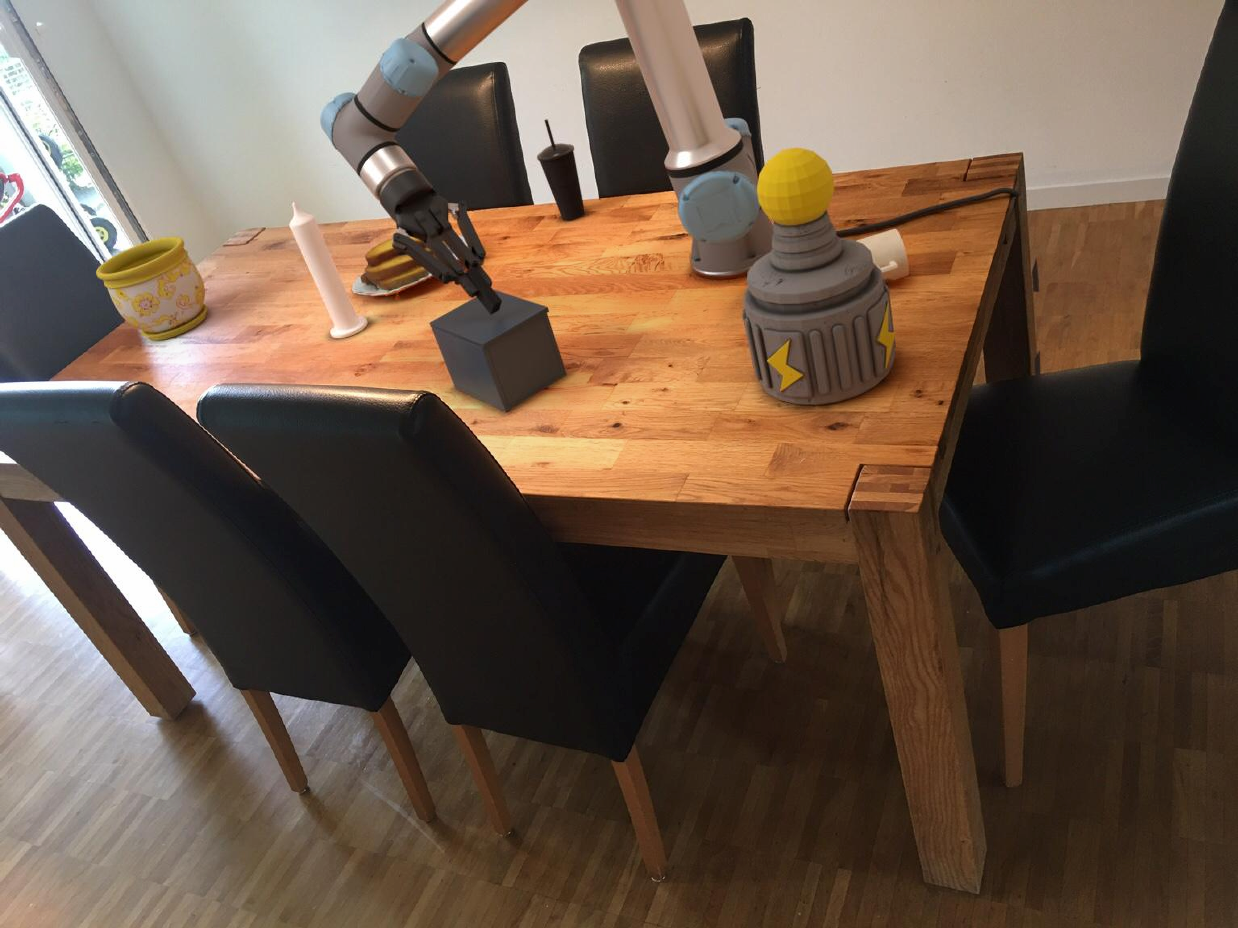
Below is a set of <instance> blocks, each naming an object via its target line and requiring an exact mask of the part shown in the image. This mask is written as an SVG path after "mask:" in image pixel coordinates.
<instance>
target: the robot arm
mask: <svg viewBox="0 0 1238 928" xmlns="http://www.w3.org/2000/svg"><path fill="white" fill-rule="evenodd" d="M528 1H529V0H445V1H444V2H443V3H442V4H441V5H440V6H438V7H437V8H436V9H435V10H434V11H433V12H432V13H431V14H429V16H427V17H426V19H425V20H424V21H423V22H421V23H420V24H419V25H418V26H417V27H415V29H414V30H413V31H411V32H410V33H408V34H407V35H406V36H405V37H399V38H396V39H394V40H393V41H392V43H391V44H390V45H389V47H388V48H386V50H385V51H384V52H383V53H382V54H381V56H380V58H379V60H378V62H377V64H376V65H375V67H374V68H373V70H372V71H371V72H370V74H369V76H368V77H367V79H366V80H365V82H364V83H363V85H362V87H361V88H360V90H359V91H358V92H357V93H355V92H350V91H349V92H348V91H347V92H343V93H342V92H341V93H340V94H338V95H336V96H334V98H333V100H331V101H329V102H327V103H326V104H325V106H324V107H323V109H322V111H321V114H320V117H319V121H320V127H321V129H322V131H323V132H324V133H325V135H326V136H327V138H328V139H329V140H330V143H331V145H332V147H333V148H334V149H335V150H337V152H339V153H340V155H341V156H342V157H343V159H345V161H346V162H347V164H349V166H350V167H351V168H352V169H353V171H354V172H355V173H356V174H357V176H358V178H359V179H360V180H361V181H362V183H363V184H364V185H365V186H366V188H367V189H368V190H369V191H370V193H371V194H372V195H373V196H374V198H375V199H376V200H377V201H379V204H380V205H381V206H382V208H383V209H384V211H385V212H386V213H387V214H388V215H389V217H390V218H391V220H392V221H394V222H395V225H396V230H397V231H396V232H394V233H393V234H392V238H393V241H392V247H393V248H394V249H396V250H399V251H401V252H404V253H406V254H407V255H408V256H410V257H411V258H412V259H413V260H415V261H416V262H417V263H418V264H420V265H421V266H422V267H423V268H424V269H426V270H427V271H428V272H429V273H431V274H432V275H433V276H432V277H433V278H435V279H436V280H438V281H439V282H441V283H442V284H443V285H449V283H452V282H453V284H454V285H456V286H460V287H461V288H462V289H463V291H464V292H465V293H466V294H467V296H469V298H472V299H473V298H475V297H477V298H478V299H479V301H480V302H481V303H482V304H483V306H484V307H485V308H486V309H487V311H488V312H489V313H490V314H491V315H492V314H493V313H495V312H497V311H499V309H500V306H501V303H502V300H501V299H500V298H499V296H498V295H497V294H496V293H495V291H494V290H495V289H494V288H492V285H493V280H492V278H491V277H490V276H489V274H488V273H487V272H486V271H485V269H484V268H483V267H482V266H484V263H485V260H486V256H487V252H486V249H485V247H484V245H483V244H482V241H481V239H480V237H479V235H478V233H477V230H476V229H475V226H474V225H473V223H472V221H471V218H470V216H469V214H468V205H467V204H468V203H467V201H465V200H463V199H460V200H459V201H458V203H453V202H448V201H447V200H446V199H445V198H444V197H441V196H440V195H439V194H438V193H437V191H436V190H435V188H434V187H433V185H432V184H431V183H430V182H429V180H428V179H427V178H426V177H425V176H424V174H423V173H422V172H421V171H420V170H418V169H419V168H418V166H417V165H416V164H415V163H414V162H413V160H412V159H411V158H410V157H409V155H408V154H407V153H406V151H404V149H403V148H402V147H401V146H400V145H399V142H397V140H396V138H395V136H396V134H397V133H398V132H399V131H400V129H401V128H402V127H403V125H404V123H406V121H407V120H408V118H410V116H411V115H412V113H413V112H414V111H415V109H416V108H417V106H418V105H419V104H420V103H421V101H422V100H423V99H424V98H425V97H426V95H427V94H428V93H429V91H430V90H431V89H432V88H433V87H434V86H435V85H436V83H438V82H439V80H441V79H442V78H443V77H444V76H445V75H446V74H448V73H449V72H450V71H451V70H452V69H453V68H454V67H455V66H456V65H457V64H458V63H459V62H461V60H463V59H464V58H465V57H467V55H468V54H470V53H471V52H472V51H473V50H474V49H476V47H477V46H478V45H480V44H481V43H482V42H483V41H485V39H487V38H488V37H489V36H490V35H491V34H492V33H493V32H495V30H497V29H498V28H499V27H500V26H501V25H503V23H505V22H506V21H507V20H508V19H509V18H510V17H512V15H514V14H515V13H516V12H517V11H519V9H521V8H522V7H523V6H524V5H525V4H526V3H527V2H528ZM614 3H615V5H616V7H617V10H618V14H619V16H620V18H621V22H622V24H623V26H624V29H625V32H626V35H627V38H628V40H629V43H630V45H631V48H632V51H633V53H634V56H635V59H636V62H637V64H638V67H639V70H640V72H641V75H642V78H643V81H644V84H645V86H646V88H647V91H648V94H649V96H650V99H651V102H652V105H653V107H654V110H655V113H656V115H657V118H658V121H659V124H660V126H661V129H662V132H663V134H664V137H665V140H666V142H667V145H668V147H669V150H668V153H667V154H666V157H665V159H664V162H663V163H664V167H665V170H666V172H667V176H668V178H669V180H670V183H671V186H672V188H673V191H674V194H675V197H676V199H677V215H678V218H679V221H680V223H681V225H682V227H683V229H684V230H685V231H686V233H687V234H688V235H689V236H691V237H692V238H691V239H692V240H691V250H690V265H691V269H692V273H694V275H695V276H697V277H698V278H701V279H704V280H709V281H730V280H736V279H741V278H745V277H747V274H748V271H749V270H750V268H751V267H752V266H753V264H754V263H755V262H756V261H758V260H759V259H761V258H762V257H763V256H765V255H766V254H768V253H770V252H771V250H772V249H773V247H772V237H773V234H774V233H775V232H774V231H773V225H774V223H773V222H772V221H771V219H770V218H769V217H768V216H767V215H766V214H765V212H764V210H763V209H762V207H761V206H760V204H759V200H758V195H757V185H758V180H759V176H758V171H757V165H756V160H755V154H754V149H753V144H752V132H750V129H749V125H748V123H747V121H746V120H745V119H743V118H739V117H730V118H724V116H723V113H722V110H721V107H720V103H719V101H718V98H717V94H716V92H715V89H714V87H713V83H712V79H711V78H710V74H709V72H708V68H707V65H706V63H705V60H704V57H703V54H702V51H701V48H700V45H699V42H698V39H697V36H696V33H695V30H694V26H693V24H692V21H691V18H690V15H689V12H688V9H687V7H686V3H685V1H684V0H614ZM1003 194H1004V195H1005V194H1007V195H1011V196H1012V197H1021V196H1022V193H1021V192H1020V191H1018V190H1017V189H1014V188H1012V187H999V188H995V189H993V190H990V191H987V192H984V193H981V194H977V195H972V196H967V197H963V198H959V199H954V200H950V201H947V202H943V203H938V204H936V205H932V206H928V207H925V208H921V209H918V210H915V211H911V212H908V213H905V214H903V215H900V216H897V217H894V218H891V219H886V220H884V221H879V222H875V223H871V224H867V225H862V226H857V227H852V228H847V229H846V228H845V229H840V230H836V235H837V236H838V237H844V236H850V235H855V234H861V233H866V232H871V231H874V230H879V229H883V228H886V227H890V226H892V225H893V226H894V225H896V224H899V223H902V222H903V223H904V222H905V221H908V220H912V219H914V218H918V217H921V216H924V215H927V214H930V213H934V212H938V211H943V210H947V209H949V208H953V207H959V206H962V205H966V204H970V203H975V202H980V201H983V200H987V199H989V198H993V197H996V196H998V195H1003ZM449 215H451V217H452V218H453V220H454V221H456V224H457V227H458V230H459V232H460V233H461V236H463V237H464V239H465V241H466V244H467V246H468V247H467V246H466V245H465V243H464V242H463V241H462V240H461V238H460V237H459V234H458V233H457V232H456V231H455V230H454V229H453V226H452V224H451V222H450V220H449ZM410 236H411V237H413V238H416V239H419V240H421V241H422V242H423V243H424V245H425V246H426V247H427V248H428V249H430V250H431V251H432V252H433V254H434V255H435V256H436V258H435V257H434V256H433V255H432V254H430V253H429V252H428V251H427V250H426V249H424V248H423V247H422V246H421V245H419V244H418V243H417V242H416V241H414V240H413V239H411V238H410ZM442 241H444V242H445V243H446V244H447V246H448V247H449V248H450V249H451V251H452V252H453V253H454V254H455V256H456V257H457V258H458V260H457V259H456V258H455V257H454V255H453V254H452V253H451V252H450V250H449V249H448V248H447V247H446V245H445V244H444V243H443V242H442ZM465 269H466V271H465ZM1031 278H1032V290H1033V291H1032V292H1033V293H1039V292H1040V283H1039V282H1040V281H1039V280H1040V279H1039V269H1038V258H1037V257H1036V258H1035V260H1034V264H1033V267H1032V270H1031ZM1037 374H1038V375H1040V374H1041V350H1039V351H1038V352H1037V355H1036V356H1035V357H1034V376H1035V375H1037Z"/></svg>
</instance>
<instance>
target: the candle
mask: <svg viewBox="0 0 1238 928" xmlns="http://www.w3.org/2000/svg"><path fill="white" fill-rule="evenodd" d="M291 205H292V209H293V210H292V211H293V217H292V218H291V220H290V222H289V224H288V226H289V228H290V231H291V233H292V235H293V237H294V239H295V242H296V244H297V246H298V248H299V251H300V252H301V255H302V258H303V260H304V261H305V263H306V266H307V269H308V270H309V272H310V275H311V277H312V279H313V281H314V284H315V286H316V288H317V290H318V292H319V295H320V297H321V299H322V301H323V303H324V305H325V308H326V310H327V312H328V314H329V317H330V319H331V321H332V323H333V327H331V329H330V331H329V333H330V336H331V337H332V338H333V339H346V338H349V337H352V336H354V335H356V334H358V333H360V332H361V331H363V330H365V328H366V327H367V325H368V319H367V318H366V317H365V316H358V314H357V312H356V310H355V308H354V305H353V303H352V301H351V299H350V296H349V293H348V292H347V289H346V287H345V284H344V282H343V280H342V278H341V277H342V276H341V275H340V273H339V270H338V268H337V266H336V264H335V261H334V260H333V257H332V255H331V253H330V250H329V248H328V245H327V243H326V241H325V239H324V237H323V234H322V232H321V230H320V227H319V225H318V223H317V221H316V218H315V216H314V215H312V214H309V213H306V212H304V211H302V210H301V209H300V207H299V206H298V204H297V203H296V202H292V204H291Z"/></svg>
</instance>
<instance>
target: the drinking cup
mask: <svg viewBox="0 0 1238 928" xmlns="http://www.w3.org/2000/svg"><path fill="white" fill-rule="evenodd" d="M544 124H545V127H546V131H547V134H548V138H549V141H550V145H549V146H546V147H545V148H544V149H542V151H541V152H539V153H538V154H537V155H536V159H537V161H538V162H539V163H540V166H541V168H542V171H543V173H544V176H545V178H546V181H547V184H548V186H549V189H550V191H551V194H552V196H553V199H554V201H555V203H556V206H557V209H558V211H559V214H560V216H561V217H560V218H561V219H562V221H565V222H568V221H569V222H571V221H575V220H579V219H580V218H582V217H583V216H585V214H586V211H585V205H584V200H583V195H582V189H581V184H580V179H579V173H578V169H577V162H576V157H575V152H574V151H575V147H574V145H573V144H570V143H556V142H555V139H554V136H553V133H552V129H551V126H550V123H549V119H548V118H547V119H544Z"/></svg>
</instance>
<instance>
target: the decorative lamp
mask: <svg viewBox="0 0 1238 928" xmlns="http://www.w3.org/2000/svg"><path fill="white" fill-rule="evenodd" d="M834 192H835V182H834V175H833V171H832V169H831V167H830V166H829V163H828V162H827V161H826V160H825V159H824V158H823V157H822V156H820V155H819V154H818V153H816V152H815V150H811V149H806V148H802V147H790V148H785V149H783V150H781V151H779V152H777V153H776V154H775V155H773V156H772V157H771V158H769V159H768V160H767V161H766V163H765V164H764V166H763V167H762V169H761V171H760V172H759V176H758V185H757V195H758V200H759V204H760V206H761V207H762V209H763V210H764V212H765V214H766V215H767V216H768V217H769V219H770V220H772V221H773V231H774V232H775V233H774V234H773V237H772V247H773V249H772V250H771V252H770V253H768V254H766V255H765V256H763V257H762V258H761V259H759V260H758V261H756V262H755V263H754V264H753V266H752V267H751V268H750V270H749V271H748V274H747V276H746V286H747V289H746V291H745V292H744V295H743V309H742V310H741V312H742V313H741V315H742V321H743V325H744V330H745V334H746V339H747V345H748V348H749V353H750V358H751V363H752V368H753V371H754V375H755V378H756V380H757V381H759V383H760V386H761V387H762V389H763V390H764V392H765V393H766V394H768V395H770V396H771V397H773V398H774V399H777V400H778V401H781V402H785V403H790V404H793V405H798V406H799V405H800V406H821V405H828V404H835V403H839V402H843V401H847V400H849V399H853V398H856V397H859V396H860V395H862V394H865V393H866V392H868V391H870V390H872V389H874V388H875V387H876V386H877V385H878V384H879V383H880V382H881V381H883V379H885V378H886V377H887V376H888V375H889V373H890V371H891V369H892V367H893V365H894V360H895V359H896V345H897V344H896V336H897V335H896V334H897V333H896V332H895V327H894V320H893V313H892V312H893V311H892V303H891V296H890V288H889V286H888V285H887V284H886V282H885V281H884V279H883V277H882V271H881V270H880V269H879V268H878V267H877V266H876V265H875V264H874V263H873V258H872V254H871V251H870V250H869V249H868V248H867V247H866V246H865V245H864V244H863V243H860V242H857V240H853V239H851V238H843V237H840V236H837V235H836V231H837V229H836V227H835V225H834V223H833V222H832V221H831V216H830V214H829V212H828V208H829V207H830V205H831V203H832V202H833V198H834Z"/></svg>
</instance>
